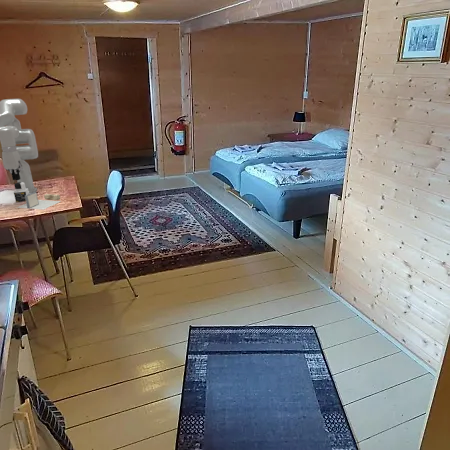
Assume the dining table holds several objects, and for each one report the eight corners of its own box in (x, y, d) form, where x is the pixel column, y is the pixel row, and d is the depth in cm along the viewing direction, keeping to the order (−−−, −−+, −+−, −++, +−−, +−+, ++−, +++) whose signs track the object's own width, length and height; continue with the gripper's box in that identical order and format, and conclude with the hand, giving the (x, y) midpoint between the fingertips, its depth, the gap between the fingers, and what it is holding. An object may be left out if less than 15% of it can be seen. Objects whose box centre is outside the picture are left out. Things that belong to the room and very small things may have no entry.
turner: (43, 200, 261) (42, 195, 260) (49, 198, 265) (47, 193, 264) (64, 202, 256) (63, 197, 255) (69, 199, 261) (68, 194, 259)
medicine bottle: (15, 202, 259) (11, 184, 255) (19, 199, 266) (14, 182, 261) (27, 201, 260) (23, 183, 256) (30, 198, 267) (26, 180, 262)
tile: (27, 208, 245) (24, 195, 243) (36, 204, 252) (34, 191, 250) (29, 208, 245) (26, 195, 242) (39, 204, 252) (36, 192, 249)
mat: (16, 208, 248) (16, 207, 248) (35, 200, 262) (35, 199, 262) (43, 210, 242) (43, 209, 242) (61, 202, 256) (61, 201, 256)
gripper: (-6, 150, 238) (1, 180, 244) (15, 150, 233) (22, 182, 240) (4, 148, 244) (11, 177, 251) (25, 148, 239) (31, 178, 246)
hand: (16, 179), depth 245 cm, fingers closed
